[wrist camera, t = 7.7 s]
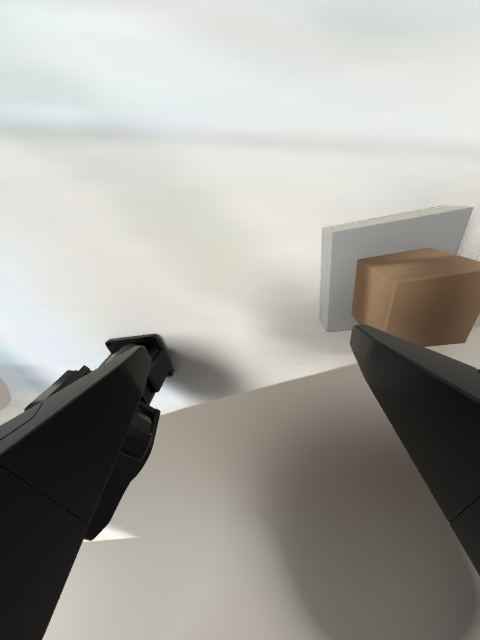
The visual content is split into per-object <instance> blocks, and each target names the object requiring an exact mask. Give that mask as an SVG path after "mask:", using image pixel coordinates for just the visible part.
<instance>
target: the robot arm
mask: <svg viewBox="0 0 480 640" xmlns="http://www.w3.org/2000/svg"><path fill="white" fill-rule="evenodd" d="M152 338H153V339H152ZM105 344H106V346H107V348H108V349H109V351H110V352H111V354H110V355H109V356H108V358H107V359H106V360H105V361H104V362H103V363H102V364H101V365H100V366H99V367H98V368H97V369H96V370H94V371H91V370H89V369H90V368H88V367H87V366H85V365H84V366H83V367H82V368H81V369H80V370H79V371H77V370H75V371H71V370H68V371H67V372H66V373H64V374H63V375H62V376H61V377H60V378H59V379H58V380H57V381H56V382H55V383H54V384H53V385H51V386H50V387H49V388H48V389H47V390H46V391H44V392H43V393H42V394H41V395H40V396H38V397H37V398H36V399H35V400H34V401H33V402H31V403H30V404H29V405H28V406H27V407H26V408H25V409H24V412H23V413H22V414H20V415H18V416H16V417H15V418H13V419H11V420H10V421H8V422H6V423H4V424H2V425H1V426H0V640H42V639H43V636H44V634H45V632H46V630H47V627H48V625H49V622H50V620H51V617H52V615H53V612H54V610H55V607H56V605H57V603H58V600H59V598H60V595H61V593H62V590H63V588H64V585H65V583H66V581H67V578H68V576H69V573H70V571H71V568H72V566H73V564H74V561H75V559H76V556H77V554H78V551H79V549H80V546H81V544H82V542H83V539H85V540H89V541H91V540H93V539H94V538H95V537H96V536H97V535H98V534H99V533H100V532H101V531H102V530H103V529H104V528H105V527H106V526H107V525H108V523H109V522H110V520H111V518H112V516H113V514H114V512H115V510H116V508H117V506H118V504H119V502H120V500H121V498H122V496H123V494H124V492H125V490H126V488H127V487H128V485H129V483H130V482H131V481H132V480H133V479H134V478H135V477H136V476H137V474H138V473H139V472H140V471H141V469H142V468H143V466H144V464H145V463H146V460H147V459H148V457H149V455H150V453H151V450H152V447H153V443H154V439H155V434H156V430H157V425H158V421H159V416H160V412H161V411H160V410H158V409H154V408H153V407H151V406H149V405H150V403H151V401H152V399H153V397H154V395H155V393H156V392H159V390H160V388H161V386H162V384H163V382H164V380H165V378H166V377H169V376H173V374H174V370H173V368H172V366H171V363H170V361H169V359H168V357H167V355H166V353H165V351H164V349H163V347H162V345H161V343H160V341H159V339H158V337H157V336H156V335H154V334H151V335H143V336H135V337H126V338H118V339H110V340H108V341H107V342H106V343H105ZM350 345H351V348H352V351H353V353H354V355H355V357H356V360H357V362H358V364H359V367H360V369H361V371H362V373H363V376H364V378H365V380H366V381H367V383H368V385H369V387H370V388H371V390H372V392H373V394H374V395H375V397H376V399H377V400H378V402H379V404H380V406H381V407H382V409H383V411H384V412H385V414H386V416H387V418H388V419H389V421H390V423H391V424H392V426H393V428H394V430H395V431H396V433H397V435H398V436H399V438H400V440H401V442H402V443H403V445H404V447H405V448H406V450H407V452H408V454H409V455H410V457H411V459H412V460H413V462H414V464H415V465H416V467H417V469H418V471H419V472H420V474H421V476H422V478H423V479H424V481H425V483H426V484H427V486H428V488H429V490H430V491H431V493H432V494H433V496H434V498H435V500H436V502H437V503H438V505H439V507H440V508H441V510H442V512H443V513H444V515H445V517H446V518H447V520H448V522H450V526H451V528H452V529H453V531H454V533H455V534H456V536H457V538H458V539H459V541H460V543H461V545H462V546H463V548H464V550H465V551H466V553H467V555H468V557H469V558H470V560H471V562H472V564H473V565H474V567H475V569H476V570H477V572H478V573H479V576H480V369H478V370H477V369H476V368H475V367H472V366H470V365H467V364H465V363H462V362H460V361H457V360H455V359H452V358H450V357H447V356H445V355H442V354H439V353H437V352H434V351H432V350H429V349H427V348H424V347H422V346H419V345H417V344H414V343H412V342H409V341H407V340H404V339H402V338H399V337H397V336H394V335H392V334H389V333H387V332H384V331H381V330H379V329H376V328H374V327H371V326H369V325H366V324H359V325H354V326H353V328H352V333H351V339H350Z"/></svg>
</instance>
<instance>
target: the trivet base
mask: <svg viewBox="0 0 480 640" xmlns="http://www.w3.org/2000/svg"><path fill="white" fill-rule="evenodd" d="M472 209H473V207H458V206H440V207H434V208H429V209H423V210H418V211H412V212H407V213H401V214H396V215H390V216H385V217H379V218H374V219H368V220H363V221H357V222H352V223H346V224H341V225H335V226H330V227H325V228H322V253H321V288H320V321H321V322H322V324H323V326H324V328H325V330H326V331H327V332H335V331H344V330H352V328H353V326H354V325H359V323H358V322H357V321H356V320H355V319H354V317H353V316H352V315H351V313H352V304H353V295H354V286H355V277H356V268H357V259H363V258H369V257H375V256H381V255H388V254H394V253H400V252H406V251H412V250H418V249H424V248H433V249H436V250H440V251H443V252H447V253H450V254H454V255H456V253H457V250H458V247H459V245H460V242H461V239H462V236H463V234H464V231H465V228H466V226H467V223H468V220H469V217H470V215H471V212H472Z"/></svg>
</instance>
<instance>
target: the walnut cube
mask: <svg viewBox="0 0 480 640" xmlns="http://www.w3.org/2000/svg"><path fill="white" fill-rule="evenodd" d="M479 313H480V262H478V261H475V260H471V259H468V258H464V257H461V256H457V255H454V254H450V253H447V252H443V251H440V250H436V249H433V248H424V249H418V250H412V251H406V252H400V253H394V254H388V255H381V256H375V257H369V258H363V259H357V268H356V277H355V286H354V295H353V304H352V313H351V315H352V316H353V317H354V319H355V320H356V321H357V322H358V323H359V324H366V325H369V326H371V327H374V328H376V329H379V330H381V331H384V332H387V333H389V334H392V335H394V336H397V337H399V338H402V339H404V340H407V341H409V342H412V343H414V344H417V345H419V346H422V347H427V346H437V345H447V344H457V343H465V341H466V339H467V337H468V335H469V333H470V331H471V329H472V327H473V325H474V323H475V321H476V319H477V317H478V315H479Z"/></svg>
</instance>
